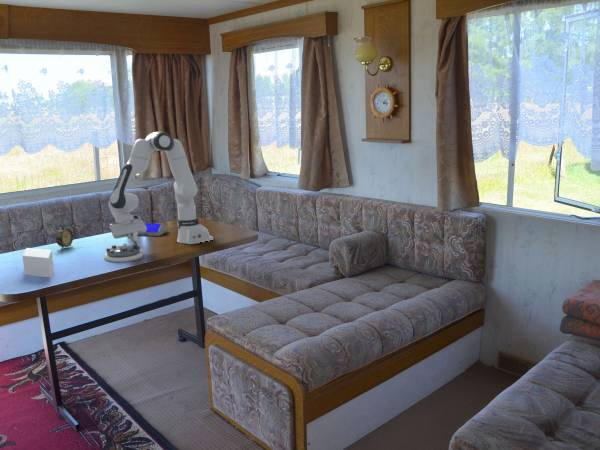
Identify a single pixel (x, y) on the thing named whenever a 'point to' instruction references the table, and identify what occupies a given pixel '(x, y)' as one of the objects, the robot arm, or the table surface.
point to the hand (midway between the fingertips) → (134, 240)
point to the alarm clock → (64, 237)
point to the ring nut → (129, 251)
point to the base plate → (123, 259)
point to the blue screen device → (154, 230)
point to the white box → (38, 262)
